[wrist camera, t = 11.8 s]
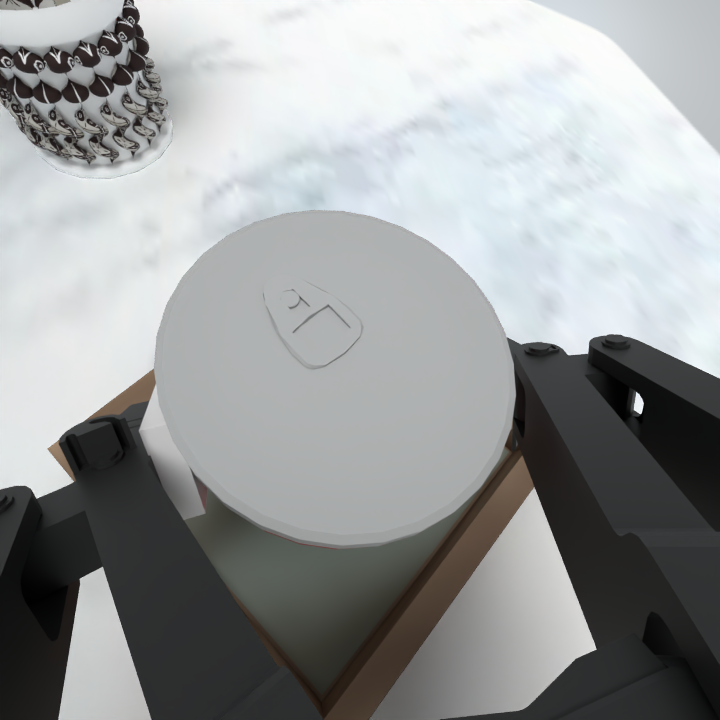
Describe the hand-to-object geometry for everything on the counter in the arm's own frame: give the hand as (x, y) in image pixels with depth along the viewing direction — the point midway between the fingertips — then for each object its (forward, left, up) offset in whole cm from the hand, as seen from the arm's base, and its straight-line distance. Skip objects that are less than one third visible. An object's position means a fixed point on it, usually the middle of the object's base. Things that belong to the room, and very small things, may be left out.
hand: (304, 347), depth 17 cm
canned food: (+3, -2, -4) cm, 5 cm away
